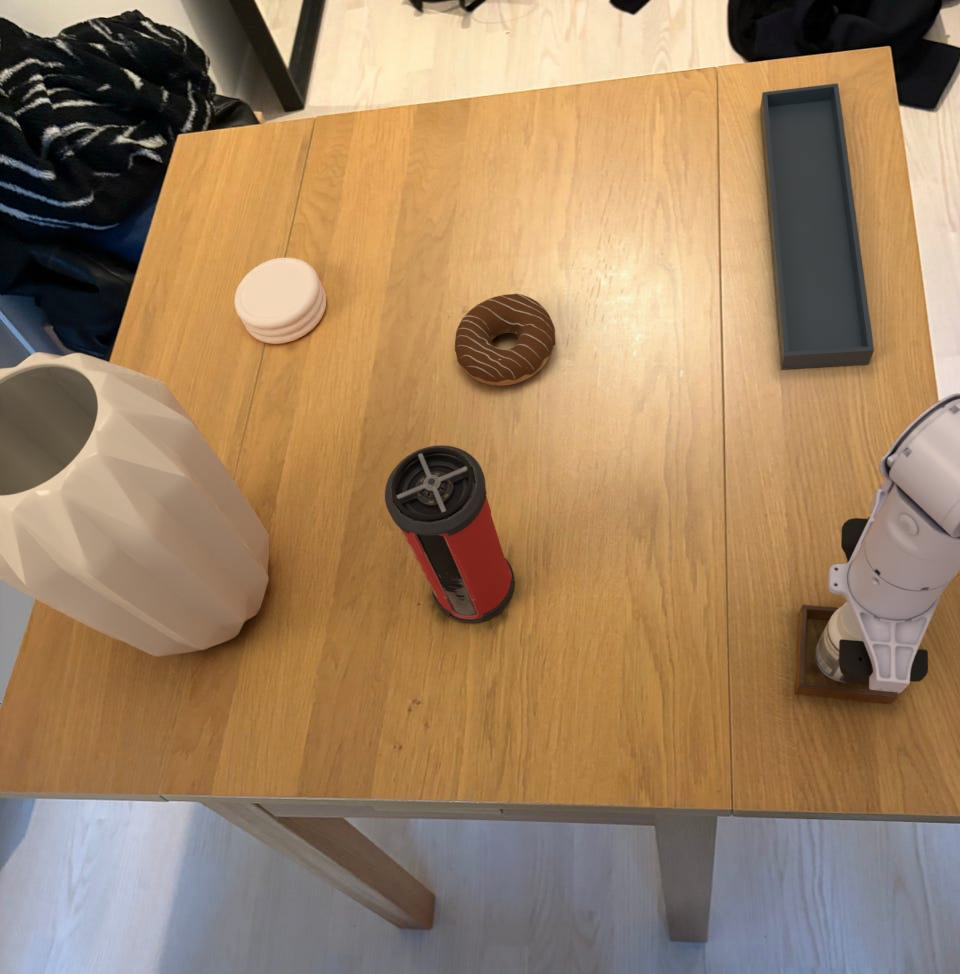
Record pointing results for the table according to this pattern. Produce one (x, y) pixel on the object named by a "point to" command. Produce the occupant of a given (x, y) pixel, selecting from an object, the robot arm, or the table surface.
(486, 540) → the speaker
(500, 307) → the donut
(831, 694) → the brown wooden square frame
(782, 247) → the tray
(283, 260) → the pale pink macaron
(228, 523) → the vase
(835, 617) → the pill bottle
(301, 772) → the table surface
